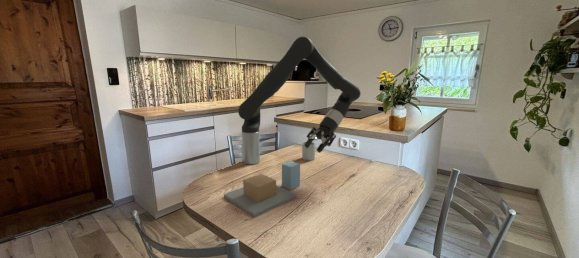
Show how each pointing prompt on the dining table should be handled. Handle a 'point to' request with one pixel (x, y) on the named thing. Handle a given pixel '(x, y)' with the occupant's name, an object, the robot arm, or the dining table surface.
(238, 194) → the tower base
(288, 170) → the tower block
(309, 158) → the cup
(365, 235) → the dining table surface
